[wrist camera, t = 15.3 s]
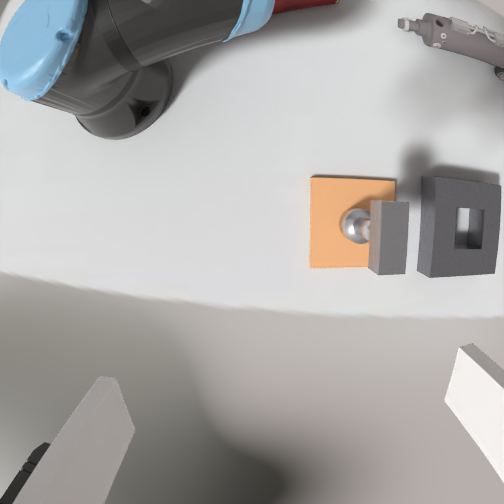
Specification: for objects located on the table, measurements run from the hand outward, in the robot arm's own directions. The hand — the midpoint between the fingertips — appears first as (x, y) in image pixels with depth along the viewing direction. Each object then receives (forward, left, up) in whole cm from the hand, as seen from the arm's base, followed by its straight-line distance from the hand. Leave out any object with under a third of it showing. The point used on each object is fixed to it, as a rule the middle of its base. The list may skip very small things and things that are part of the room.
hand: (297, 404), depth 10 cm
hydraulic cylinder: (-34, +39, -33) cm, 61 cm away
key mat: (-3, +12, -32) cm, 35 cm away
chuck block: (-3, +30, -32) cm, 44 cm away
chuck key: (-3, +12, -32) cm, 34 cm away
